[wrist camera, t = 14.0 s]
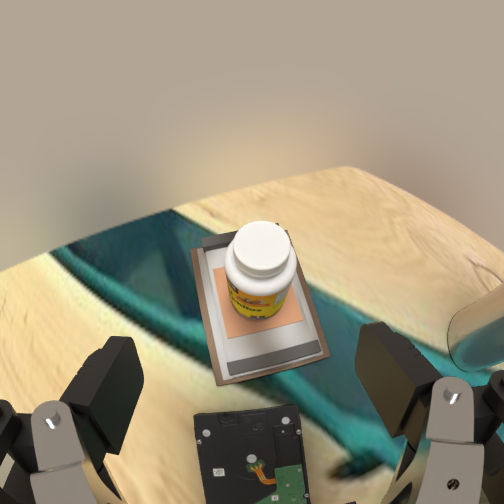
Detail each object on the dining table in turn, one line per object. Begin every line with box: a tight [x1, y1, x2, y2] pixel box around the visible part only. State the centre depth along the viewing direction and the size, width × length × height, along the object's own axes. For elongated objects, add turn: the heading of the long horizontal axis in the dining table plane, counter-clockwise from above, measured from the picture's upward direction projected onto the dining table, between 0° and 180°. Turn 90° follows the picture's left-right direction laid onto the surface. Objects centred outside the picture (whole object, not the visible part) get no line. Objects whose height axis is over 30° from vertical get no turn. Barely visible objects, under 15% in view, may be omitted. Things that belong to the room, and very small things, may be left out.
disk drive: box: [193, 404, 311, 504], centre depth 20 cm, size 10×3×15 cm
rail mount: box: [190, 223, 330, 386], centre depth 29 cm, size 12×16×4 cm
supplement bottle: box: [224, 221, 297, 320], centre depth 23 cm, size 6×6×10 cm
